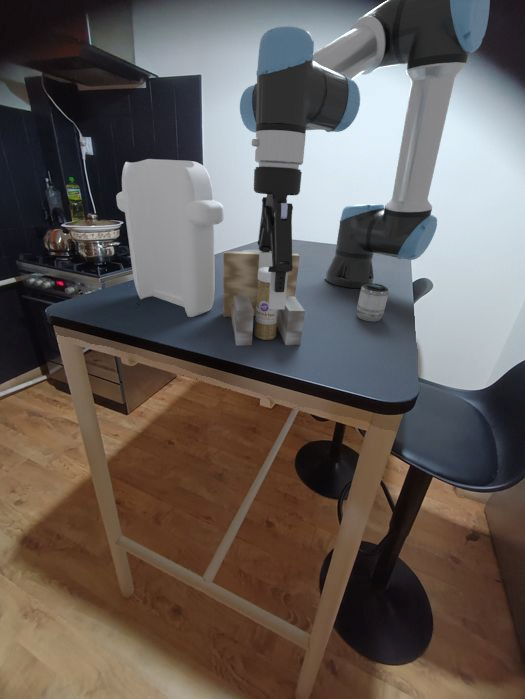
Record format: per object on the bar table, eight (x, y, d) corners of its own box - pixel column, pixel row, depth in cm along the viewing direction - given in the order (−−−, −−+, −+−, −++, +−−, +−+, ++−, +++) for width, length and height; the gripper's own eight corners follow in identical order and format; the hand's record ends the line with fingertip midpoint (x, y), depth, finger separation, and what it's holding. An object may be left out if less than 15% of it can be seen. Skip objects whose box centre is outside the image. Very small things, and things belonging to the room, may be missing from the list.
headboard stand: (290, 313, 76) (297, 253, 69) (309, 344, 62) (319, 273, 55) (223, 313, 73) (223, 251, 66) (226, 345, 59) (227, 271, 52)
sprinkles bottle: (252, 339, 62) (256, 271, 56) (255, 329, 66) (259, 265, 60) (276, 341, 62) (282, 273, 55) (277, 332, 66) (283, 267, 59)
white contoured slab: (236, 310, 75) (240, 164, 61) (203, 324, 67) (199, 159, 53) (159, 285, 88) (148, 160, 74) (124, 294, 80) (103, 155, 66)
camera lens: (360, 310, 81) (367, 280, 77) (385, 316, 78) (393, 285, 74) (351, 317, 76) (358, 285, 72) (377, 324, 73) (385, 291, 69)
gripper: (246, 166, 60) (243, 276, 70) (267, 162, 38) (259, 322, 49) (285, 168, 61) (277, 276, 71) (326, 166, 40) (306, 321, 50)
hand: (269, 295), depth 60 cm, fingers open, 13 cm apart
